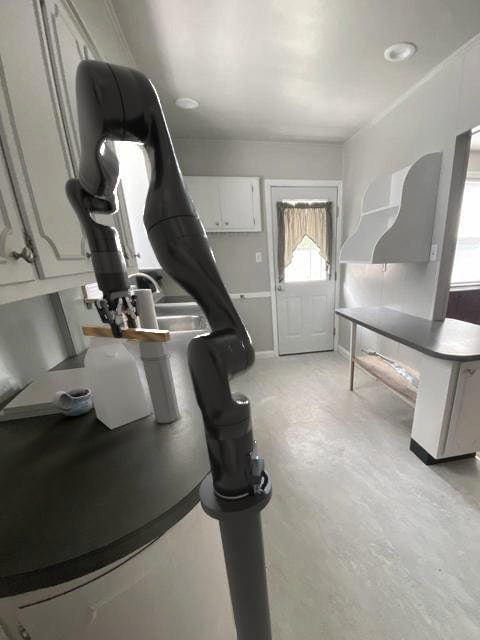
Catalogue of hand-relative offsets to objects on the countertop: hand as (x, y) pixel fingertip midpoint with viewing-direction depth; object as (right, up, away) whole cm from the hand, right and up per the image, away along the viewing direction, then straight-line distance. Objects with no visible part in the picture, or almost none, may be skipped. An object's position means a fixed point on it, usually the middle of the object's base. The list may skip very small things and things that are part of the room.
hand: (126, 335), depth 85 cm
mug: (-23, -24, +13) cm, 36 cm away
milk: (-7, -24, +12) cm, 28 cm away
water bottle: (+9, -25, +9) cm, 28 cm away
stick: (0, -1, 0) cm, 1 cm away
